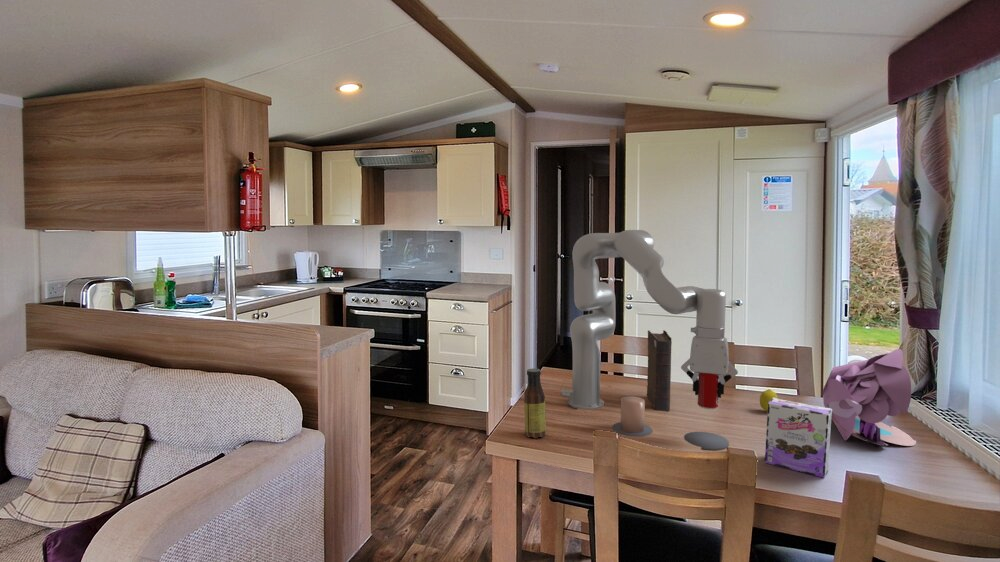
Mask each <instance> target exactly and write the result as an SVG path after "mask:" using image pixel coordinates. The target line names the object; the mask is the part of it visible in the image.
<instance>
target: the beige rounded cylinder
mask: <svg viewBox="0 0 1000 562" xmlns="http://www.w3.org/2000/svg"><path fill="white" fill-rule="evenodd" d="M645 407H646V401H645V399H644V398H642V397H638V396H631V395H630V396H629V395H628V396H623V397H621V398H620V422H621V424H620V428H621V430H623V431H625V432H628V433H641V432H643V431H644V424H645V410H646V409H645Z"/></svg>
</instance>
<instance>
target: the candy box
mask: <svg viewBox="0 0 1000 562" xmlns="http://www.w3.org/2000/svg"><path fill="white" fill-rule="evenodd" d="M831 417H832V409H831V408H825V406H823V407H822V406H819V405H812V404H811V405H810V404H806V403H802V402H796V401H791V400H785V399H781V398H778V399H777V398H772V400H771V401H770V402H769V403H768V412H767V418H766V435H765V452H764V453H765V455H764V463H766V464H769V465H774V466H778V467H781V468H784V467H785V469H788V470H793V471H796V472H799V471H800V473H804V474H806V475H807V474H808V475H811V476H815V477H820V478H825V477H826V475H827V474H828V471H829V457H830V447H831V446H830V443H831V430H832V429H831V427H832V418H831Z"/></svg>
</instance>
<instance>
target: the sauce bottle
mask: <svg viewBox="0 0 1000 562" xmlns="http://www.w3.org/2000/svg"><path fill="white" fill-rule="evenodd" d="M541 374H542V372H541V370H540V368H528V369H527V370H526V375H527V386H526V388H525V390H524V394H523V395H524V396H523V398H524V401H523V403H524V404H523V405H524V407H523V409H524V410H523V411H524V430H525V436H526V437H528V436H529V437H528V438H530V437H535V438H534V439H539V438H538V437H541V438H543V436H544V437H545V436H546V431H547V421H546V396H545V393H544V390H543V387H542V384H541Z"/></svg>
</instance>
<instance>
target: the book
mask: <svg viewBox="0 0 1000 562" xmlns="http://www.w3.org/2000/svg"><path fill="white" fill-rule="evenodd" d="M671 366H672V337H671V336H670V335H669V334H668V332H667V331H666V330H665V329H663V330H662V333H657V332H656V333H653V332H651V330H647V378H646V379H647V385H646V397H647V400H648V401H649V402H650V404H651V405H652V409H653V410H654V411H660V412H670V409H671V378H672V376H671V375H672V374H671V373H672V367H671Z"/></svg>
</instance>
